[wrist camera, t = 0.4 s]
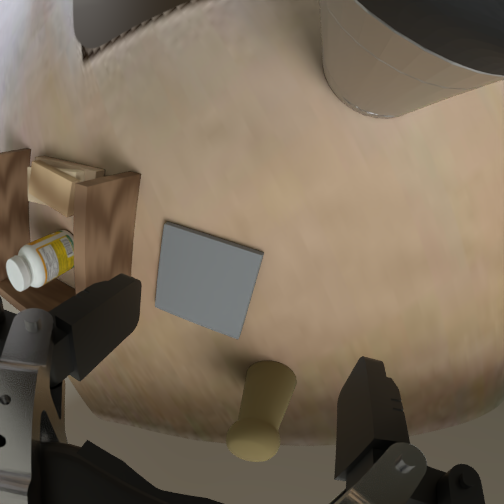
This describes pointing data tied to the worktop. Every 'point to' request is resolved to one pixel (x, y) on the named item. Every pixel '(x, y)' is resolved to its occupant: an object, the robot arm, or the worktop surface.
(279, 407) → the cork
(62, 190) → the offcut stack
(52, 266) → the supplement bottle
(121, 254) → the walnut open frame
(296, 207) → the worktop surface
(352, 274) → the worktop surface
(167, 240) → the slate mat
